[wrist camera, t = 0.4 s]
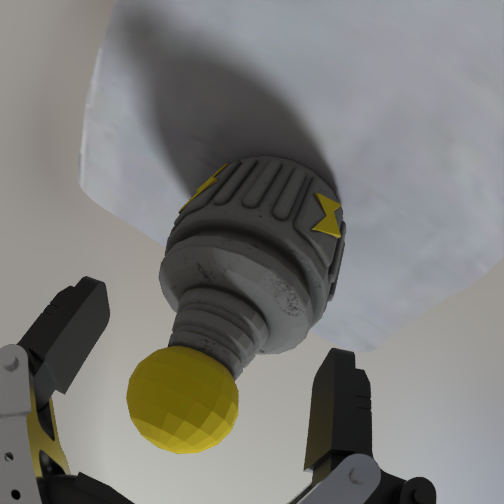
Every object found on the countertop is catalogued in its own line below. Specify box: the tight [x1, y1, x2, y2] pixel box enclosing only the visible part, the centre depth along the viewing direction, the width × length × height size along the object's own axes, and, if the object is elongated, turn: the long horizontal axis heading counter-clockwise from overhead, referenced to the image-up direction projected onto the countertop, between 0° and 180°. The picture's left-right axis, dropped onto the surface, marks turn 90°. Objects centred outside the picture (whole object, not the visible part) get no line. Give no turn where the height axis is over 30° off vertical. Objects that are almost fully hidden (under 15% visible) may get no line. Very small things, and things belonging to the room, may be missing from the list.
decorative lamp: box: [126, 155, 346, 454], centre depth 31 cm, size 19×19×30 cm
